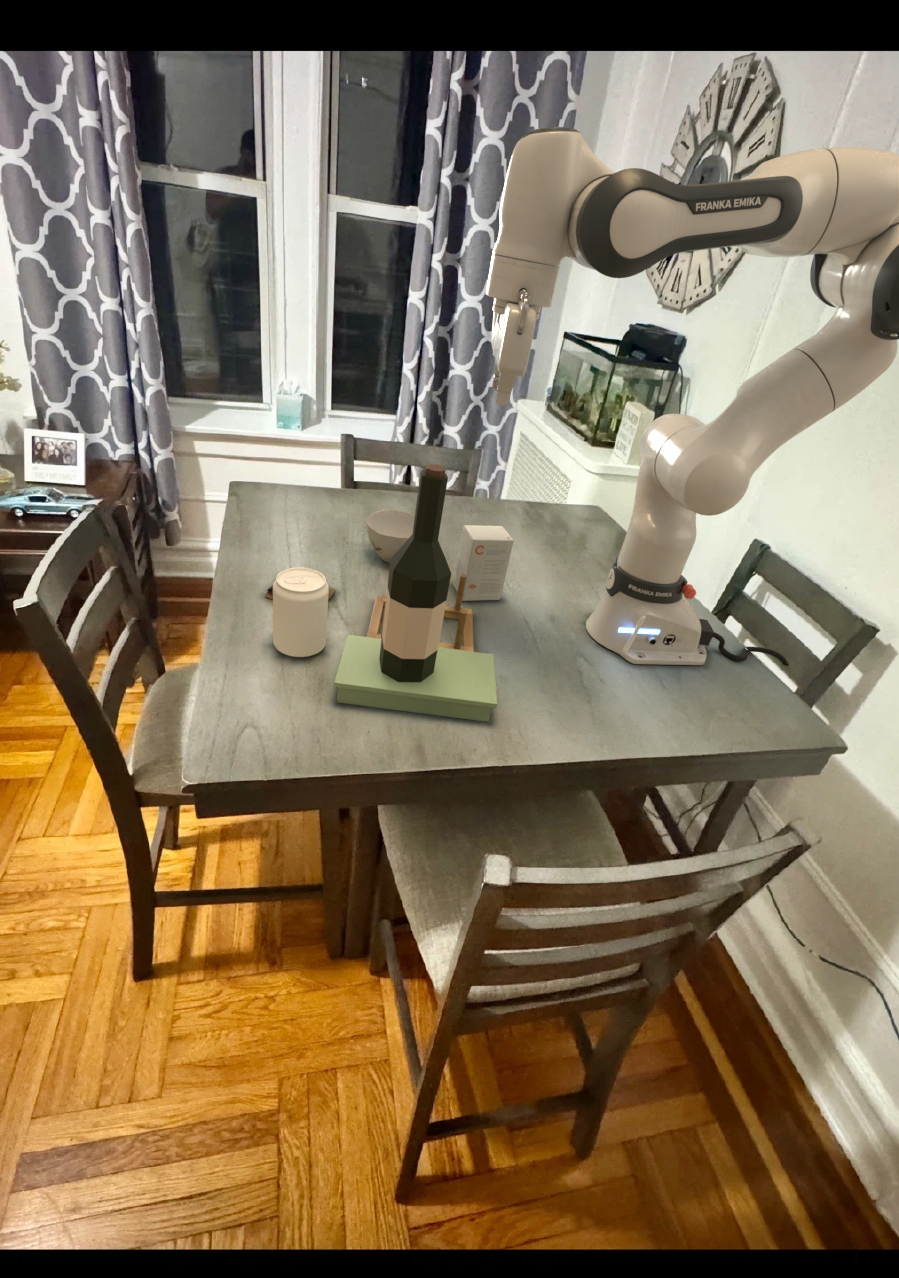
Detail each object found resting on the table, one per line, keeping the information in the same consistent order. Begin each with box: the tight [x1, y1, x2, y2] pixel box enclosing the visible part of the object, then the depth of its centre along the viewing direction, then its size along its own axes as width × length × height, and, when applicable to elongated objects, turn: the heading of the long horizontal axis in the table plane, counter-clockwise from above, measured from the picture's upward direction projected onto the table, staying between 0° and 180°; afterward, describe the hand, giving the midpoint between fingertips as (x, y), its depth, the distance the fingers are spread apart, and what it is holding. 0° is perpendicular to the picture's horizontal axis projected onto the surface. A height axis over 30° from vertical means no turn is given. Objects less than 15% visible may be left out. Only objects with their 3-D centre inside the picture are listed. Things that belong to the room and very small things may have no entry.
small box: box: [452, 524, 515, 602], centre depth 115 cm, size 8×6×13 cm
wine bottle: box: [379, 463, 452, 682], centre depth 80 cm, size 8×8×30 cm
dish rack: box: [366, 574, 475, 652], centre depth 102 cm, size 18×14×9 cm
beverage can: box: [272, 566, 330, 658], centre depth 92 cm, size 8×8×12 cm
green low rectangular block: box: [333, 634, 498, 723], centre depth 90 cm, size 23×12×4 cm, turn 89°
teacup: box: [365, 509, 415, 564], centre depth 123 cm, size 15×12×8 cm
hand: (499, 396), depth 86 cm, fingers open, 8 cm apart
